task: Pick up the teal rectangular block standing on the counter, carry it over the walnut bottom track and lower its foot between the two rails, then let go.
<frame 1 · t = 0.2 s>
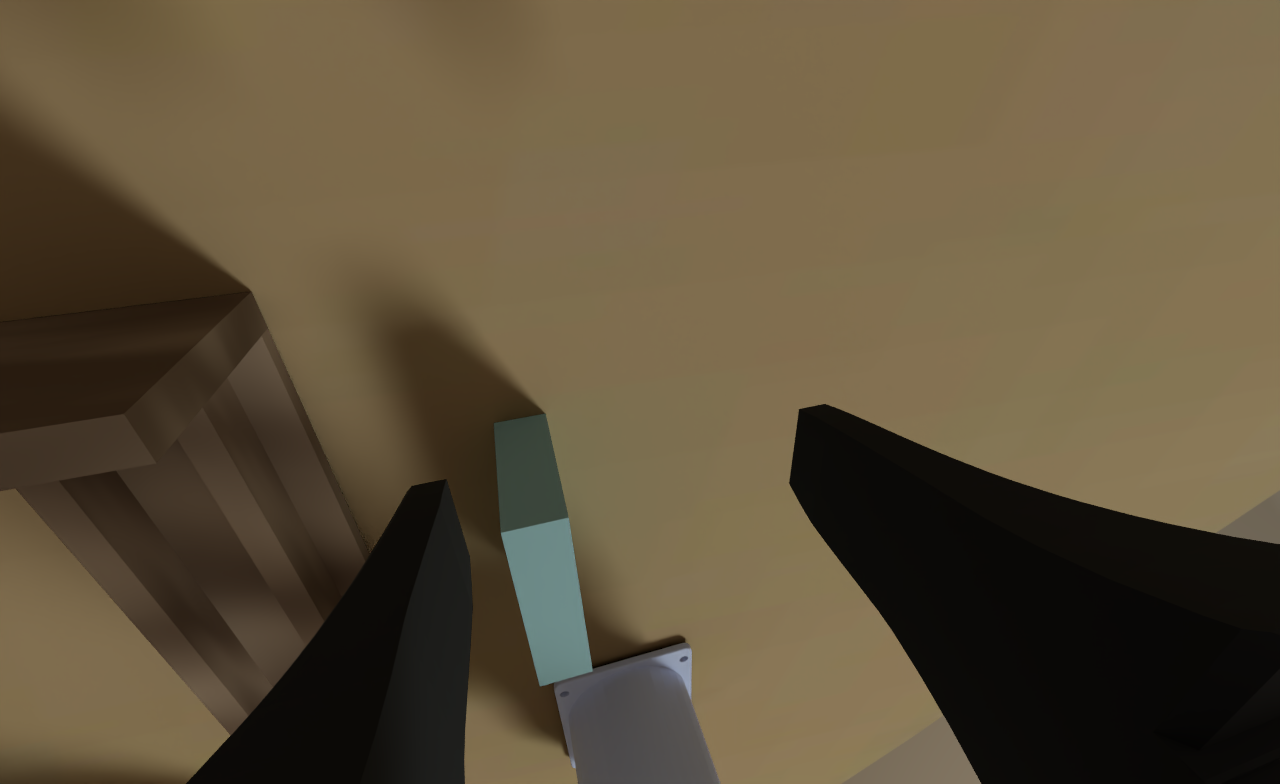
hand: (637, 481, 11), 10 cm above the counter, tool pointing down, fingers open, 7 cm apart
track: (259, 574, 21), on the counter
teal rectangular block: (534, 494, 23), on the counter
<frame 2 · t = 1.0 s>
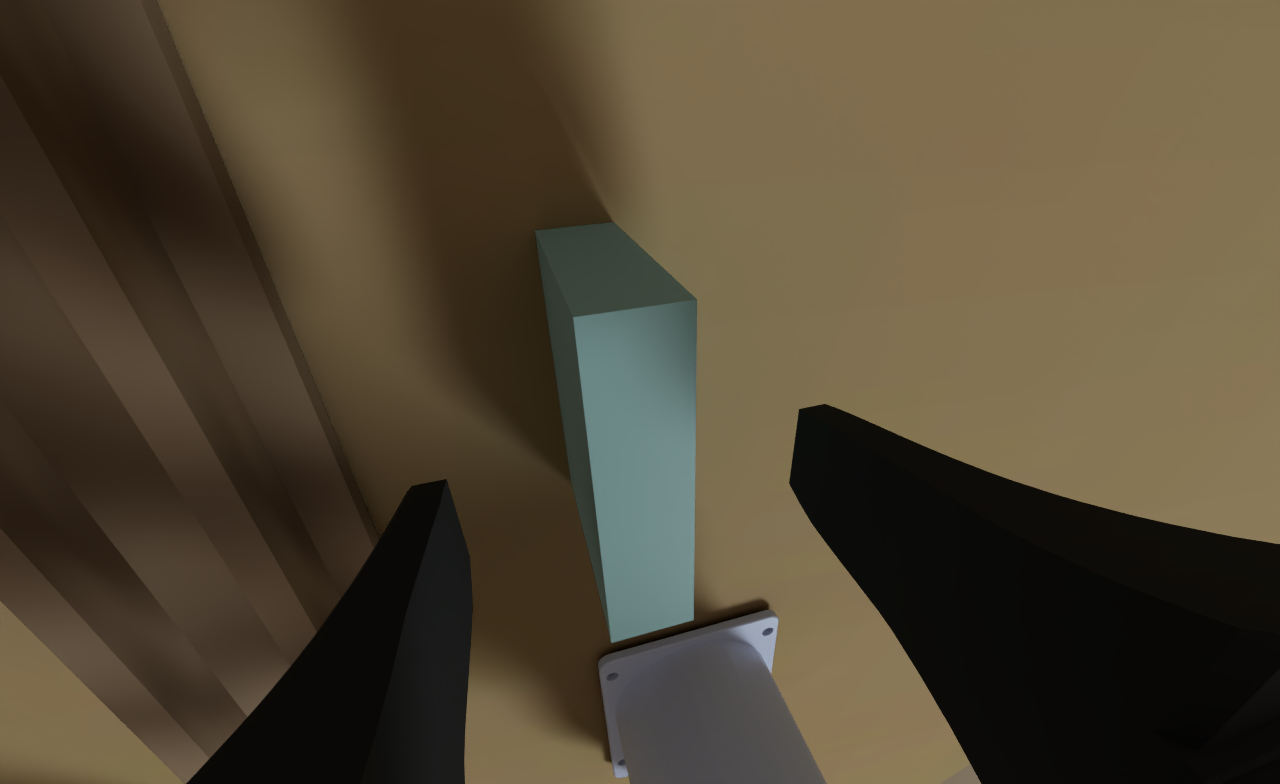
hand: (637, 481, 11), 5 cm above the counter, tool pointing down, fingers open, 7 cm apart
track: (169, 472, 13), on the counter
teal rectangular block: (589, 366, 15), on the counter
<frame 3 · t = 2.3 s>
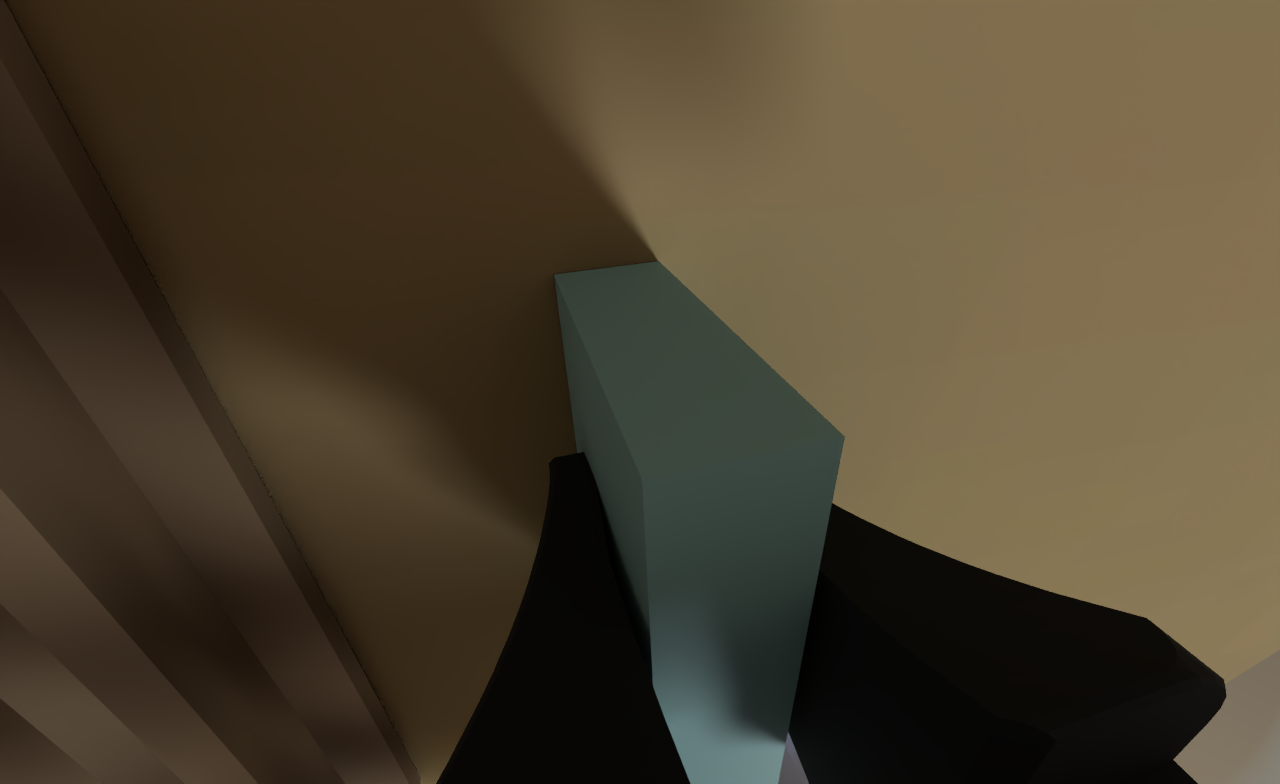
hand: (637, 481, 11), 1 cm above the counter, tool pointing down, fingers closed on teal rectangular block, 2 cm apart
track: (66, 594, 10), on the counter
teal rectangular block: (620, 441, 12), on the counter, touching gripper
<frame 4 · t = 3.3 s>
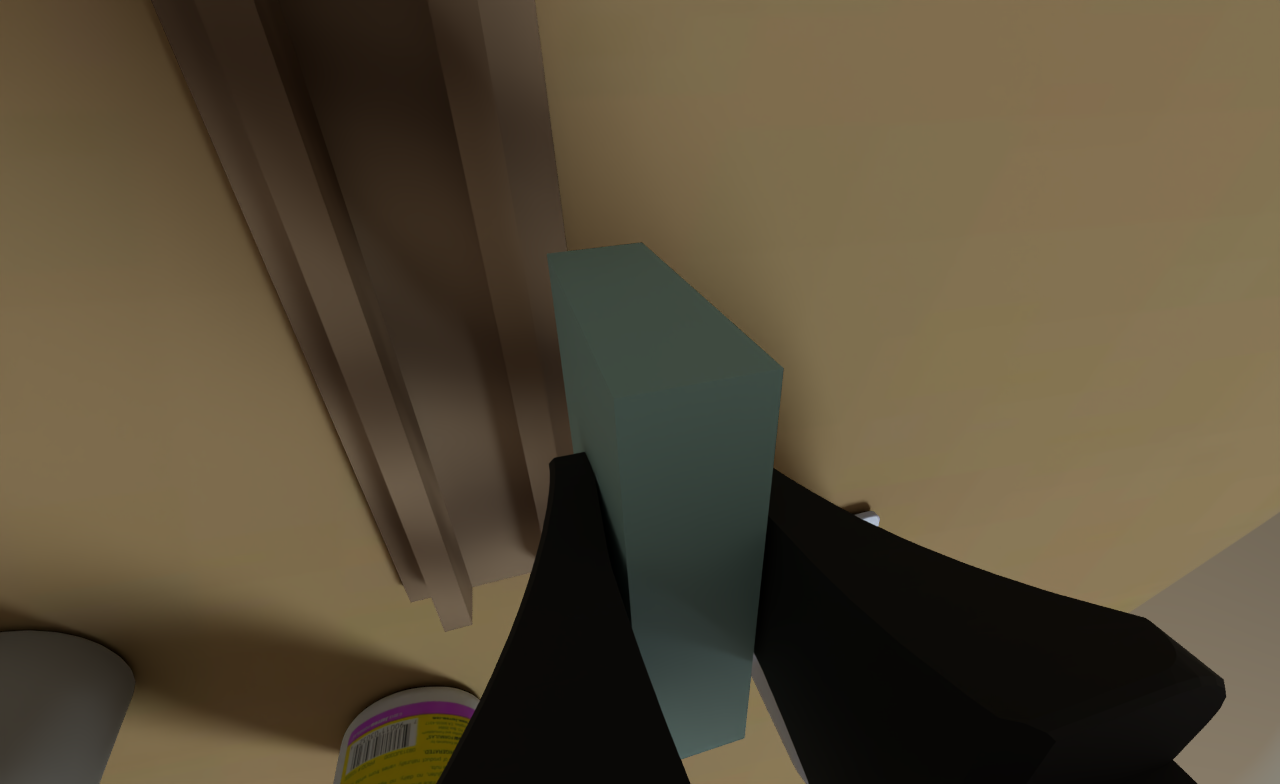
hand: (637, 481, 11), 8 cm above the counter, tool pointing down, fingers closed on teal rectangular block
cup: (5, 685, 19), on the counter
supplement bottle: (421, 718, 26), on the counter
track: (455, 356, 17), on the counter
teal rectangular block: (609, 411, 13), point 6 cm above the counter, touching gripper
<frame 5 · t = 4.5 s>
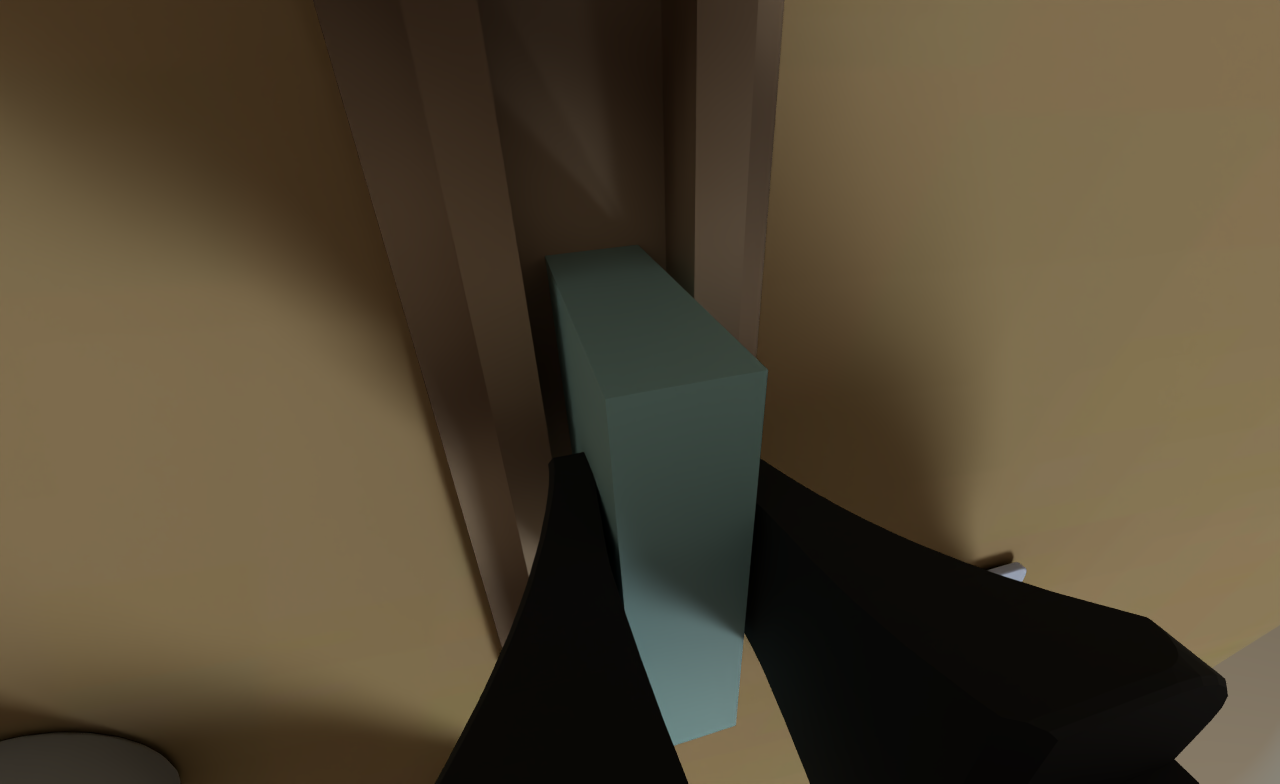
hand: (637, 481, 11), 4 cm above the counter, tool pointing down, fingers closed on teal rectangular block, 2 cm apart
track: (602, 395, 14), on the counter
teal rectangular block: (606, 409, 13), point 1 cm above the counter, touching gripper, track
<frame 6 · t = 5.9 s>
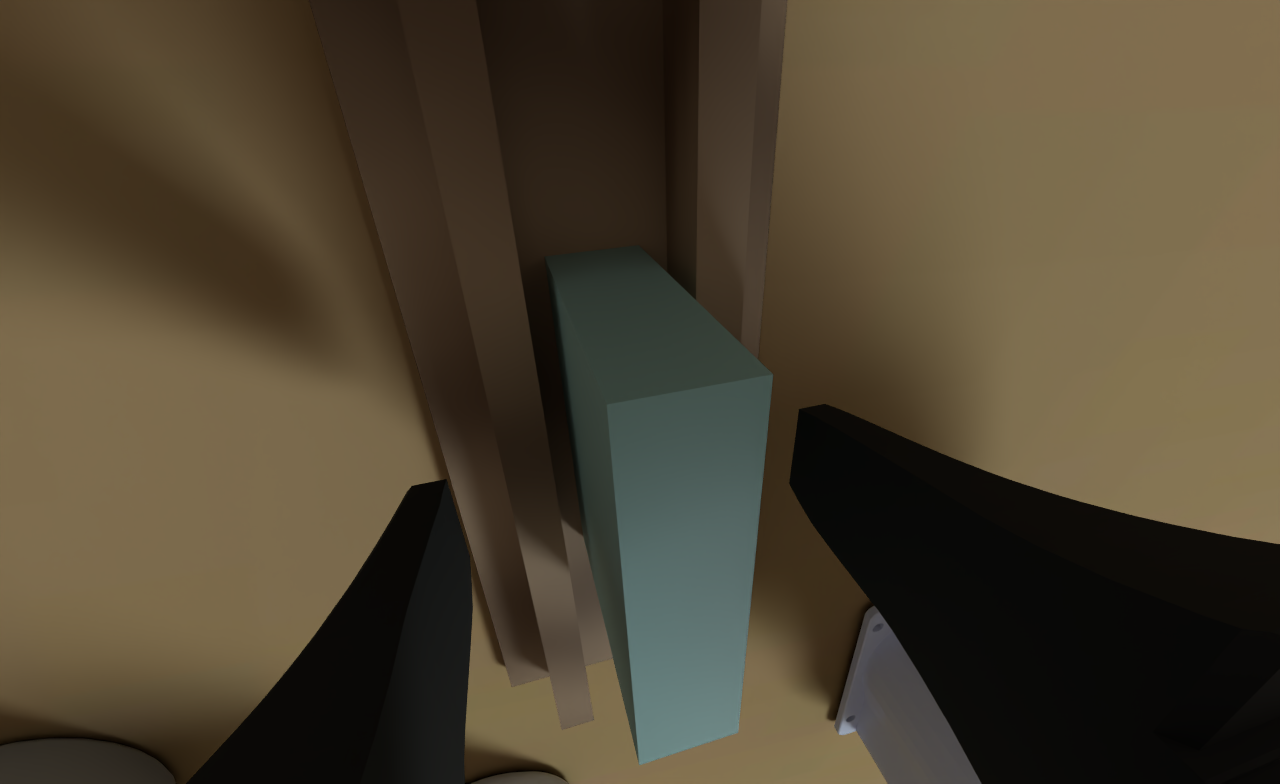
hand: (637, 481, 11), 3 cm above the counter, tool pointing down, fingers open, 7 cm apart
track: (602, 397, 13), on the counter
teal rectangular block: (607, 411, 13), point 1 cm above the counter, touching track
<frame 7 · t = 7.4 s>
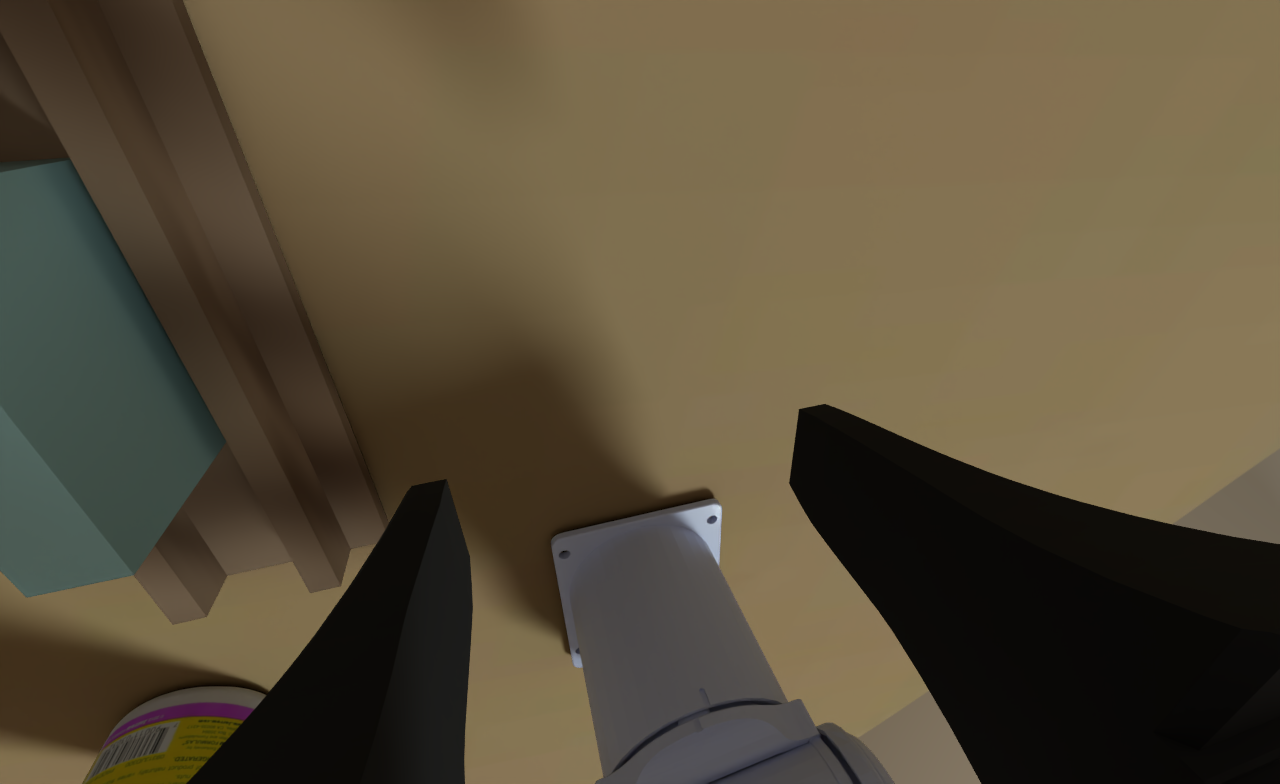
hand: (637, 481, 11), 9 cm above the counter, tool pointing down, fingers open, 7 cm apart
supplement bottle: (213, 720, 24), on the counter
track: (142, 307, 15), on the counter
teal rectangular block: (130, 316, 15), point 1 cm above the counter, touching track
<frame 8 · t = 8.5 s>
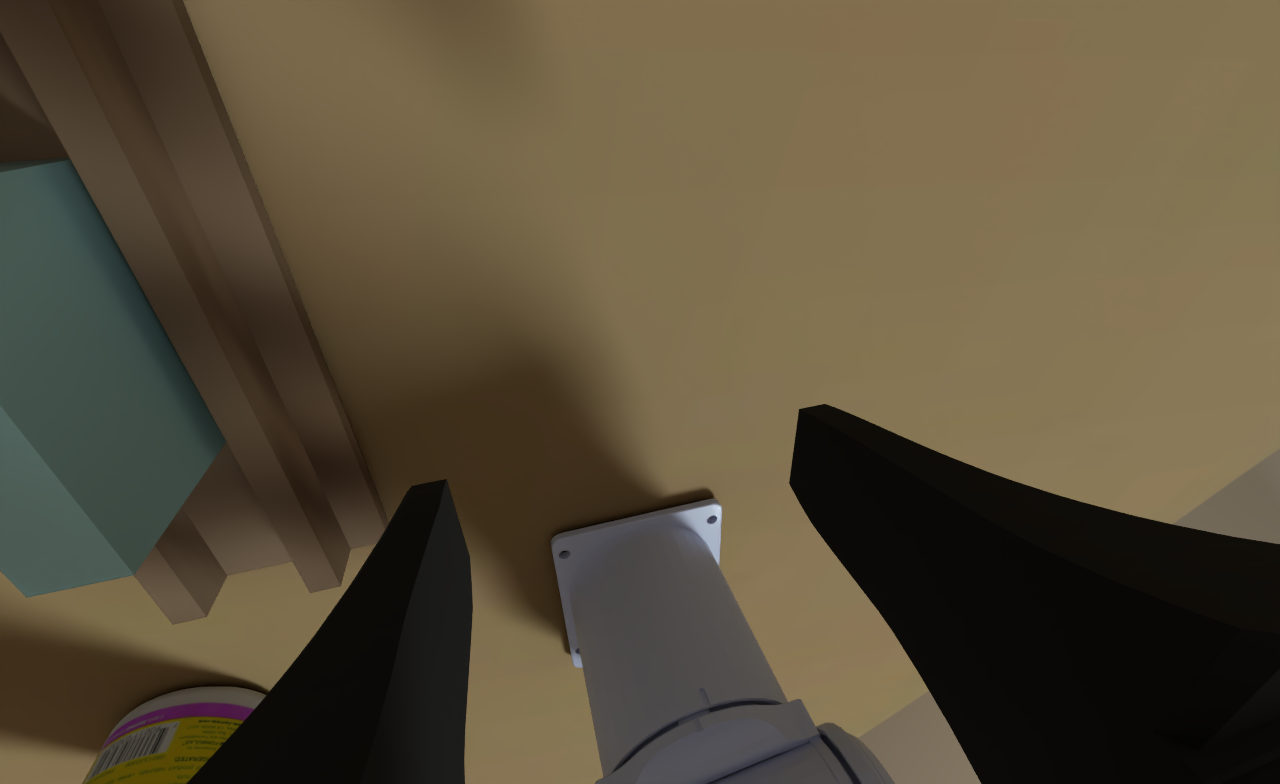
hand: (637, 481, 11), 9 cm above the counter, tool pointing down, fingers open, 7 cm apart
supplement bottle: (213, 720, 24), on the counter
track: (142, 307, 15), on the counter
teal rectangular block: (130, 316, 15), point 1 cm above the counter, touching track
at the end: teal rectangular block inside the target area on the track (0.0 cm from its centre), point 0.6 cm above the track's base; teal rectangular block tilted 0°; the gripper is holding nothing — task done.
